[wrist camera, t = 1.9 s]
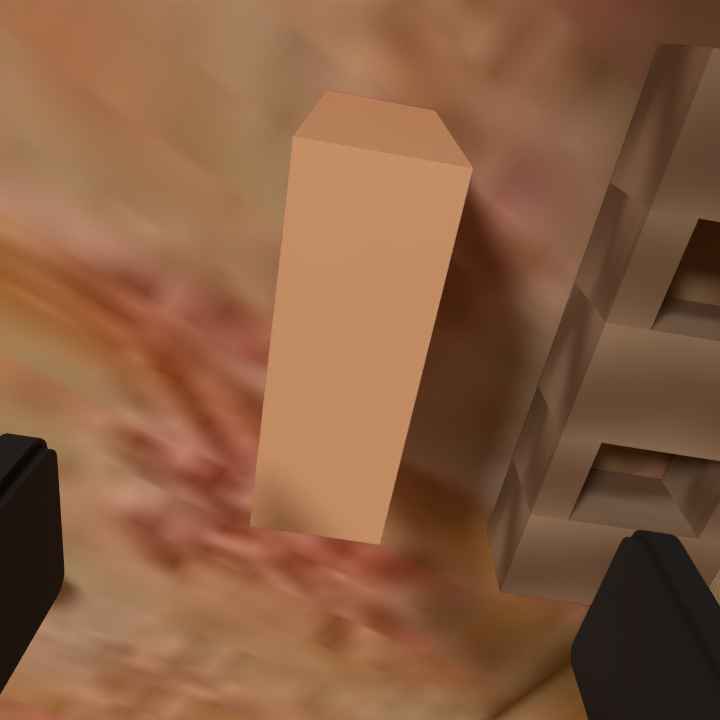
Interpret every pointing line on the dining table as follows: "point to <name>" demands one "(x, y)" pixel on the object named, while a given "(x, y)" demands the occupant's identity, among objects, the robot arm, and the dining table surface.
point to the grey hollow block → (627, 363)
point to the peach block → (354, 311)
